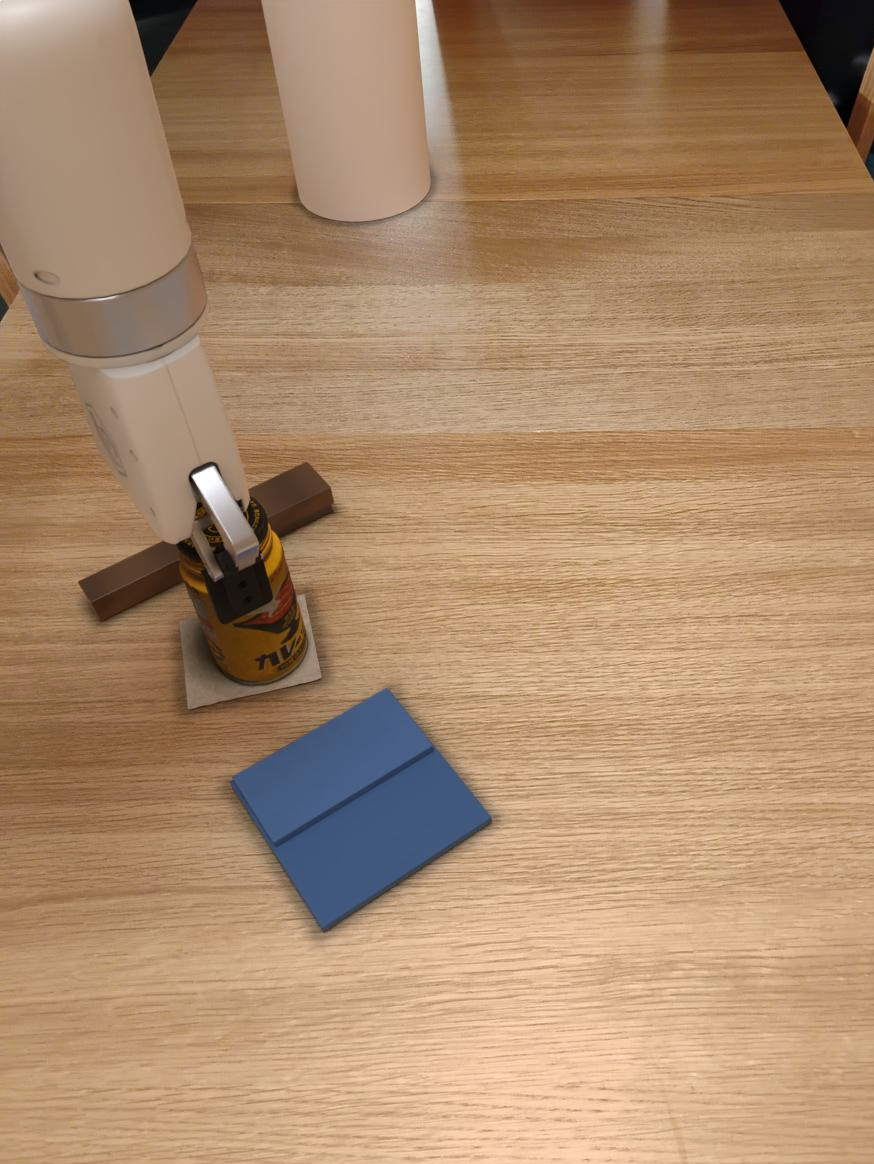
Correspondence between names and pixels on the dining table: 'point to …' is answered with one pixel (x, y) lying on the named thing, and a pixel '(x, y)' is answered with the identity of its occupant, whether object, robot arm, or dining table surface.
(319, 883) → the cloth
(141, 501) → the robot arm
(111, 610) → the brown bar
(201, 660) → the condiment
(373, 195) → the canister
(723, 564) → the dining table surface
